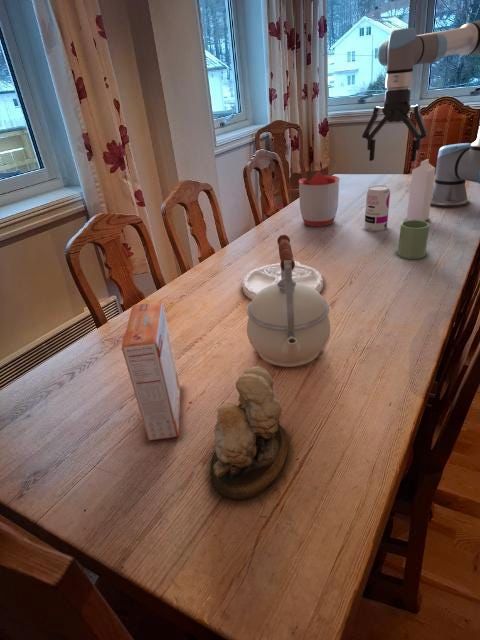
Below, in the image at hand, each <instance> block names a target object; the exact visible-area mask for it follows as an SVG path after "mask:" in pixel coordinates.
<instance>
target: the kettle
mask: <svg viewBox="0 0 480 640" xmlns="http://www.w3.org/2000/svg"><path fill="white" fill-rule="evenodd" d="M276 243H277V245H278V253H279V254H278V255H279V260H280V263H281V264H280V266H281V280H280V281H279V282H278V283H277V284H273V285H270V286H268V287H266V288H264V289H262V290H261V291H260V292H258V293H257V294H256V296H255V297H254V299H253V300H252V299H251V301H250V302H249V303H248V305H247V307H246V316H247V317H248V318H247V321H246V322H247V323H246V334H247V335H246V336H247V338H248V341H249V344H250V345H251V346H252V348H254V350H255V351H256V352H258V355H259V356H260V358H261V359H262V360H264V361H265V362H266V363H269V364H271V365H274V366H276V367H277V366H278V367H283V368H285V367H286V368H291V367H299V366H300V367H301V366H304V365H306V364H308V363H311V362H313V361H314V360H315V359H316V358H317V357H318V356H319V354H320V353H321V350H322V349H323V348H324V347H325V346H326V345H327V343H328V341H329V339H330V336H331V321H330V318H329V312H330V305H329V303H328V301H327V300H326V299H325V298H324V297H323V296H322V295H321V294H320V293H319V292H318V291H316V290H315V289H314V288H312V287H310V286H308V285H305V284H301V283H296V282H294V280H292V270H293V269H294V267H295V262H294V261H295V260H294V255H293V250H292V246H291V239H290V237H289V236H288V235H287V234H279V236H278V237H277V241H276Z"/></svg>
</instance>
